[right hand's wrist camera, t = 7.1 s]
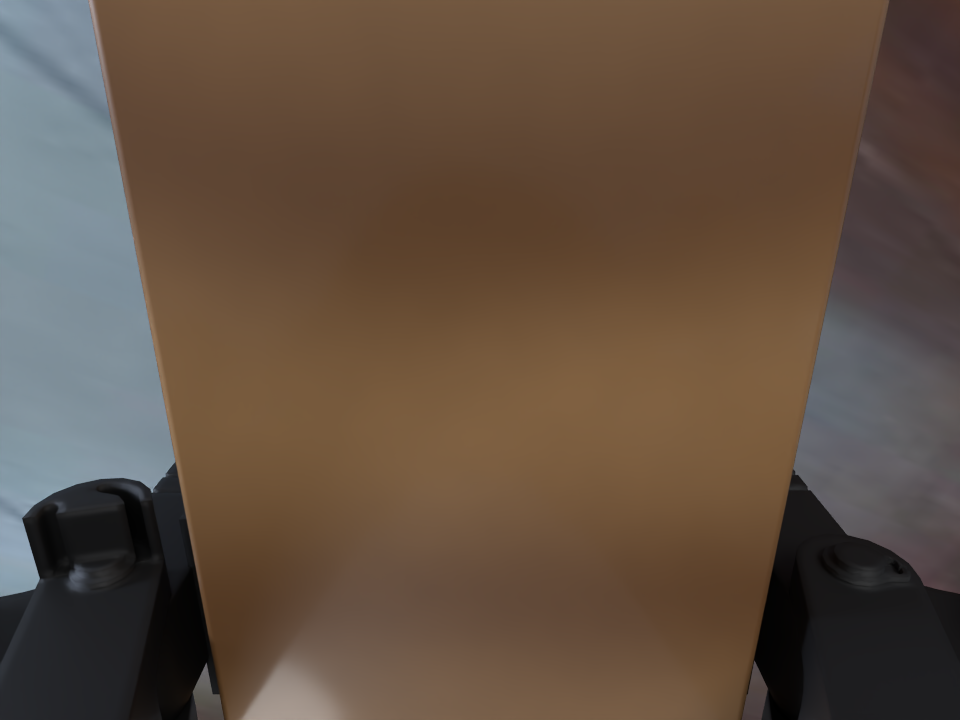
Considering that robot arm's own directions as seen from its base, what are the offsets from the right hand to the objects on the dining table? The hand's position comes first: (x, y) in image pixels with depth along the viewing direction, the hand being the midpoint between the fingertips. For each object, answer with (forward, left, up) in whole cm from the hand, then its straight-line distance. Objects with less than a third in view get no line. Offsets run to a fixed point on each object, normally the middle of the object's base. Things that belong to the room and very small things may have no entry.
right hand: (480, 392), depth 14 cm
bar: (-20, +23, -1) cm, 30 cm away
